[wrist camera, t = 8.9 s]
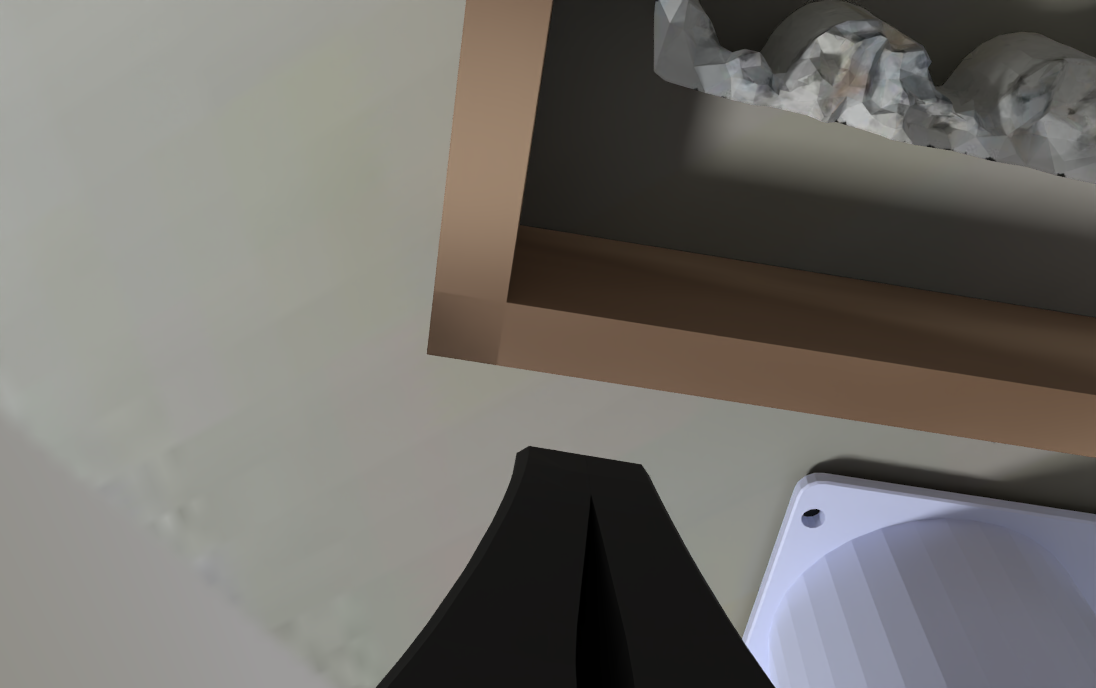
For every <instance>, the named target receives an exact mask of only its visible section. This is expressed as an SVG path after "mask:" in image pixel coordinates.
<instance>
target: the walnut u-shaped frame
mask: <svg viewBox="0 0 1096 688" xmlns="http://www.w3.org/2000/svg"><path fill="white" fill-rule="evenodd" d="M553 3H554V0H466V8H465V17H464V26H463V35H462V44H461V53H460V62H459V71H458V80H457V88H456V97H455V106H454V115H453V124H452V133H451V142H450V151H449V160H448V169H447V178H446V187H445V196H444V205H443V214H442V223H441V232H440V241H439V250H438V259H437V268H436V277H435V286H434V295H433V303H432V312H431V321H430V330H429V339H428V348H427V354H429V355H435V356H441V357H448V358H454V359H461V360H467V361H474V362H480V363H487V364H493V365H500V366H506V367H513V368H519V369H526V370H532V371H538V372H545V373H551V374H558V375H564V376H571V377H577V378H584V379H590V380H597V381H603V382H610V383H616V384H623V385H629V386H636V387H642V388H648V389H655V390H661V391H668V392H674V393H681V394H687V395H694V396H700V397H707V398H713V399H720V400H726V401H733V402H739V403H745V404H752V405H758V406H765V407H771V408H778V409H784V410H791V411H797V412H804V413H810V414H817V415H823V416H830V417H836V418H842V419H849V420H855V421H862V422H868V423H875V424H881V425H888V426H894V427H901V428H907V429H914V430H920V431H927V432H933V433H939V434H946V435H952V436H959V437H965V438H972V439H978V440H985V441H991V442H998V443H1004V444H1011V445H1017V446H1024V447H1030V448H1037V449H1043V450H1049V451H1056V452H1062V453H1069V454H1075V455H1082V456H1088V457H1095V458H1096V318H1094V317H1088V316H1082V315H1075V314H1069V313H1063V312H1057V311H1051V310H1044V309H1038V308H1032V307H1026V306H1020V305H1013V304H1007V303H1001V302H995V301H989V300H982V299H976V298H970V297H964V296H957V295H951V294H945V293H939V292H933V291H926V290H920V289H914V288H908V287H902V286H895V285H889V284H883V283H877V282H871V281H864V280H858V279H852V278H846V277H840V276H833V275H827V274H821V273H815V272H808V271H802V270H796V269H790V268H784V267H777V266H771V265H765V264H759V263H753V262H746V261H740V260H734V259H728V258H722V257H715V256H709V255H703V254H697V253H690V252H684V251H678V250H672V249H666V248H659V247H653V246H647V245H641V244H635V243H628V242H622V241H616V240H610V239H604V238H597V237H591V236H585V235H579V234H573V233H566V232H560V231H554V230H548V229H541V228H535V227H529V226H523V225H520V218H521V212H522V205H523V199H524V192H525V186H526V179H527V173H528V166H529V160H530V153H531V147H532V140H533V133H534V127H535V120H536V114H537V107H538V101H539V94H540V88H541V81H542V75H543V68H544V62H545V55H546V49H547V42H548V35H549V29H550V22H551V16H552V9H553Z"/></svg>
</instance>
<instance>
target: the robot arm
mask: <svg viewBox="0 0 1096 688" xmlns="http://www.w3.org/2000/svg"><path fill="white" fill-rule="evenodd" d="M810 509H818V510H820V512H819V513H818V514H816V515H814V516H809V517H806V516H803V514H804V513H805V512H806V511H808V510H810ZM376 688H1096V514H1091V513H1084V512H1078V511H1071V510H1065V509H1058V508H1052V507H1045V506H1038V505H1032V504H1025V503H1019V502H1012V501H1005V500H999V499H992V498H986V497H979V496H973V495H966V494H959V493H953V492H946V491H940V490H933V489H927V488H920V487H913V486H907V485H900V484H894V483H887V482H880V481H874V480H867V479H861V478H854V477H848V476H841V475H834V474H828V473H812V474H809V475H806V476H805V477H803V478H802V479H801V480H799V481H798V483H797V484H796V486H795V488H794V491H793V494H792V496H791V499H790V502H789V505H788V508H787V511H786V514H785V517H784V520H783V522H782V525H781V528H780V531H779V534H778V537H777V540H776V543H775V545H774V548H773V551H772V554H771V557H770V560H769V563H768V566H767V569H766V571H765V574H764V577H763V580H762V583H761V586H760V589H759V592H758V594H757V597H756V600H755V603H754V606H753V609H752V612H751V615H750V618H749V620H748V623H747V626H746V629H745V632H744V635H743V638H741V637H740V635H739V634H738V632H737V631H736V629H735V628H734V626H733V625H732V623H731V621H730V620H729V618H728V617H727V615H726V613H725V612H724V610H723V609H722V607H721V605H720V604H719V602H718V600H717V599H716V597H715V595H714V594H713V592H712V590H711V589H710V587H709V586H708V584H707V582H706V581H705V579H704V577H703V576H702V574H701V572H700V571H699V569H698V567H697V565H696V564H695V562H694V560H693V558H692V557H691V555H690V553H689V551H688V550H687V548H686V546H685V544H684V542H683V540H682V539H681V537H680V535H679V533H678V531H677V529H676V528H675V526H674V524H673V522H672V520H671V518H670V516H669V514H668V512H667V511H666V509H665V507H664V505H663V503H662V501H661V499H660V497H659V495H658V493H657V491H656V489H655V487H654V485H653V483H652V481H651V479H650V477H649V475H648V473H647V472H646V470H645V469H644V468H643V466H642V465H641V464H635V463H629V462H623V461H617V460H611V459H605V458H599V457H593V456H586V455H580V454H574V453H568V452H562V451H556V450H550V449H544V448H538V447H532V446H528V447H527V448H525V449H523V450H521V451H520V452H518V453H517V454H516V459H515V465H514V470H513V474H512V478H511V481H510V483H509V486H508V489H507V491H506V493H505V496H504V498H503V500H502V502H501V504H500V506H499V509H498V511H497V513H496V515H495V517H494V519H493V521H492V523H491V525H490V526H489V528H488V530H487V532H486V533H485V535H484V537H483V538H482V540H481V542H480V544H479V545H478V547H477V549H476V551H475V552H474V554H473V556H472V558H471V559H470V561H469V563H468V564H467V566H466V568H465V569H464V571H463V572H462V574H461V576H460V577H459V578H458V580H457V581H456V583H455V584H454V586H453V587H452V589H451V590H450V591H449V593H448V594H447V596H446V597H445V599H444V600H443V602H442V603H441V604H440V606H439V607H438V609H437V610H436V612H435V613H434V615H433V616H432V617H431V619H430V620H429V622H428V623H427V625H426V626H425V627H424V629H423V630H422V631H421V632H420V634H419V635H418V636H417V638H416V639H415V640H414V642H413V643H412V644H411V645H410V647H409V648H408V649H407V651H406V652H405V653H404V654H403V656H402V657H401V658H400V659H399V661H398V662H397V663H396V664H395V665H394V667H393V668H392V669H391V670H390V671H389V673H388V674H387V675H386V676H385V677H384V678H383V680H382V681H381V682H380V683H379V684H378V686H377V687H376Z"/></svg>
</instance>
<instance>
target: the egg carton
mask: <svg viewBox="0 0 1096 688" xmlns="http://www.w3.org/2000/svg"><path fill="white" fill-rule="evenodd" d="M931 62H932V61H931V59H930V57H929V55H928V54H927V52H926V50H925V48H924V46H923V45H921V44H920V43H918V42H916V41H915V40H913V39H911V38H910V37H908V36H906V35H904V34H903V33H901V32H900V31H898V30H897V29H895V28H893V27H892V26H890V25H888V24H887V23H885V22H884V21H882V20H880V19H879V18H877V17H876V16H874V15H872V14H871V13H870V12H869V11H868V10H866V9H864V8H862V7H860V6H857V5H854V4H852V3H848V2H844V1H839V0H821V1H818V2H814V3H810V4H807V5H805V6H803V7H801V8H800V9H798V10H796V11H795V12H794V13H792V14H791V15H789V16H788V17H787V18H786V19H785V20H784V21H783V22H782V23H781V24H780V25H779V26H778V27H777V28H776V29H775V30H774V32H773V33H772V34H771V35H770V37H769V39H768V41H767V42H766V44H765V46H764V47H763V49H762V50H761V52H757V51H752V50H747V49H743V50H739V51H735V52H731V51H729V50H727V49H725V48H723V47H721V46H720V44H719V41H718V38H717V35H716V32H715V30H714V27H713V25H712V22H711V20H710V19H709V17H708V16H707V15H706V13H705V12H704V10H703V8H702V7H701V5H700V3H699V1H698V0H656V1H655V12H654V72H655V73H656V74H658V75H659V76H660V77H661V78H662V79H664V80H665V81H667V82H670V83H674V84H677V85H681V86H684V87H687V88H691V89H694V90H698V91H701V92H704V93H708V94H712V95H716V96H720V97H724V98H727V99H731V100H735V101H739V102H743V103H747V104H751V105H758V106H769V107H774V108H778V109H783V110H787V111H792V112H796V113H800V114H804V115H808V116H810V117H812V118H815V119H817V120H819V121H822V122H826V123H829V122H838V123H842V124H845V125H849V126H852V127H856V128H859V129H862V130H865V131H868V132H872V133H875V134H878V135H880V136H883V137H886V138H888V139H891V140H895V141H900V142H905V143H909V144H914V145H921V146H927V147H933V148H939V149H945V150H952V151H955V152H959V153H963V154H967V155H971V156H975V157H979V158H983V159H987V160H991V161H995V162H1001V163H1007V164H1014V165H1020V166H1026V167H1030V168H1033V169H1036V170H1040V171H1043V172H1047V173H1050V174H1053V175H1057V176H1062V177H1066V178H1071V179H1075V180H1080V181H1085V182H1089V183H1094V184H1096V58H1095V57H1092V56H1089V55H1087V54H1085V53H1083V52H1081V51H1079V50H1077V49H1074V48H1072V47H1069V46H1067V45H1064V44H1061V43H1058V42H1056V41H1054V40H1052V39H1050V38H1048V37H1046V36H1044V35H1042V34H1039V33H1034V32H1016V33H1010V34H1004V35H998V36H996V37H994V38H992V39H990V40H988V41H986V42H984V43H982V44H981V45H979V46H978V47H977V48H976V49H974V50H973V51H972V52H971V53H969V54H968V55H967V56H966V57H965V58H964V59H963V60H962V62H961V63H960V64H959V66H958V67H957V68H956V69H955V71H954V72H953V73H952V74H951V76H950V77H949V78H948V79H947V81H946V82H945V83H944V85H942V86H938V87H937V86H934V84H933V81H932V78H931V75H930V73H929V70H928V67H929V65H930V64H931Z"/></svg>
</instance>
